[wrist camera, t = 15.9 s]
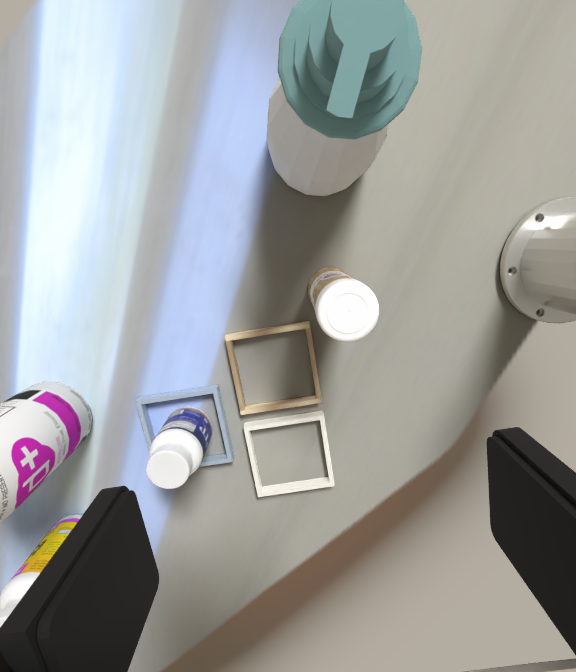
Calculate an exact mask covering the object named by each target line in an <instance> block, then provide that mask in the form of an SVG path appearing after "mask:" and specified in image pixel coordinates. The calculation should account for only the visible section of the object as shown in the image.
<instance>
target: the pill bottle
mask: <svg viewBox="0 0 576 672" xmlns="http://www.w3.org/2000/svg"><path fill="white" fill-rule="evenodd" d="M211 434H212V424H211V421H210V419H209V417H208V416H207V415H206V414H205V413H204V412H203V411H201V410H200V409H197V408H194V407H182V408H179V409H177V410H175V411H174V412H173V413H172V414H171V415H170V416H169V417H168V419H167V420H166V422H165V424H164V425H163V427H162V428H161V430H160V431H159V433H158V434H157V436H156V437H155V439H154V440H153V442H152V444H151V447H150V451H149V457H150V459H149V461H148V463H147V468H146V469H147V474H148V477H149V479H150V480H151V481H152V482H153V483H154V484H155V485H157V486H159V487H161V488H165V489H174V488H177V487H179V486H181V485H183V484H184V483H185V482H186V480H187V479H188V477H189V476H190V475H191V474H193V473H194V472H195V471H196V470H197V469H198V467H199V466H200V464H201V462H202V459H203V456H204V454H205V451H206V448H207V446H208V443H209V440H210V437H211Z"/></svg>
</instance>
